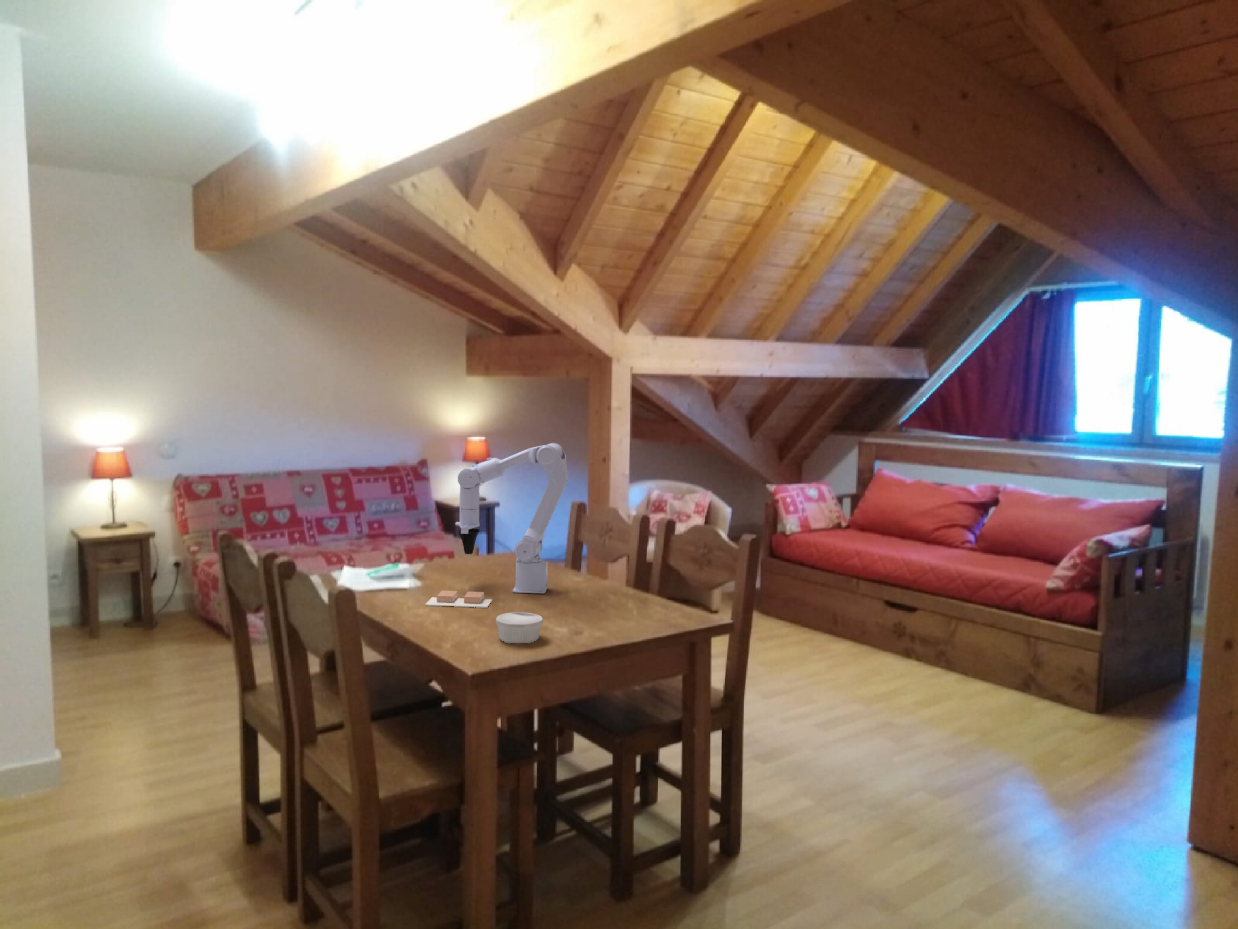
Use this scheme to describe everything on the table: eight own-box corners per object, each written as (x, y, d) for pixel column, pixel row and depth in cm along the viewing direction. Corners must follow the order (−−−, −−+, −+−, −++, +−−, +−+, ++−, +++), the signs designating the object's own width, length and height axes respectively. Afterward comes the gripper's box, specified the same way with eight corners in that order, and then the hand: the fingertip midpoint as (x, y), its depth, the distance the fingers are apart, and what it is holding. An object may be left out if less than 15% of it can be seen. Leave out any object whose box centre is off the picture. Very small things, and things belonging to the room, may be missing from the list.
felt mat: (492, 600, 249) (492, 599, 249) (487, 608, 241) (487, 606, 241) (431, 598, 249) (431, 597, 249) (425, 605, 241) (425, 604, 241)
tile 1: (457, 591, 250) (453, 596, 244) (457, 597, 250) (452, 602, 244) (441, 590, 250) (436, 595, 244) (441, 596, 250) (436, 602, 244)
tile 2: (484, 592, 249) (480, 597, 244) (483, 598, 250) (480, 603, 244) (468, 591, 250) (463, 596, 244) (468, 597, 250) (463, 603, 244)
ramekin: (545, 633, 220) (545, 612, 219) (539, 647, 209) (539, 625, 208) (500, 631, 220) (500, 610, 219) (491, 645, 209) (492, 623, 208)
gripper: (460, 504, 269) (460, 548, 271) (450, 511, 255) (450, 558, 256) (484, 505, 269) (483, 549, 271) (475, 512, 255) (474, 559, 256)
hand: (468, 553), depth 263 cm, fingers closed
